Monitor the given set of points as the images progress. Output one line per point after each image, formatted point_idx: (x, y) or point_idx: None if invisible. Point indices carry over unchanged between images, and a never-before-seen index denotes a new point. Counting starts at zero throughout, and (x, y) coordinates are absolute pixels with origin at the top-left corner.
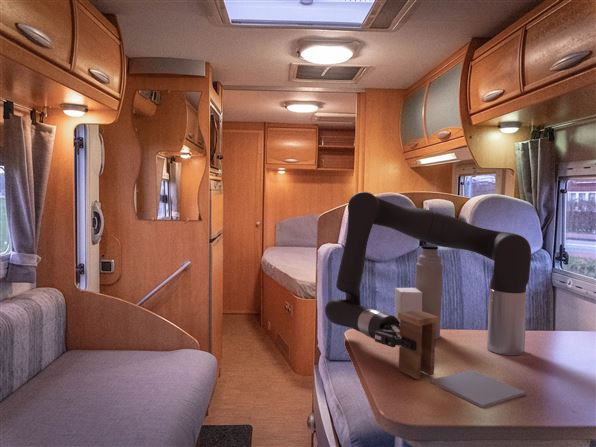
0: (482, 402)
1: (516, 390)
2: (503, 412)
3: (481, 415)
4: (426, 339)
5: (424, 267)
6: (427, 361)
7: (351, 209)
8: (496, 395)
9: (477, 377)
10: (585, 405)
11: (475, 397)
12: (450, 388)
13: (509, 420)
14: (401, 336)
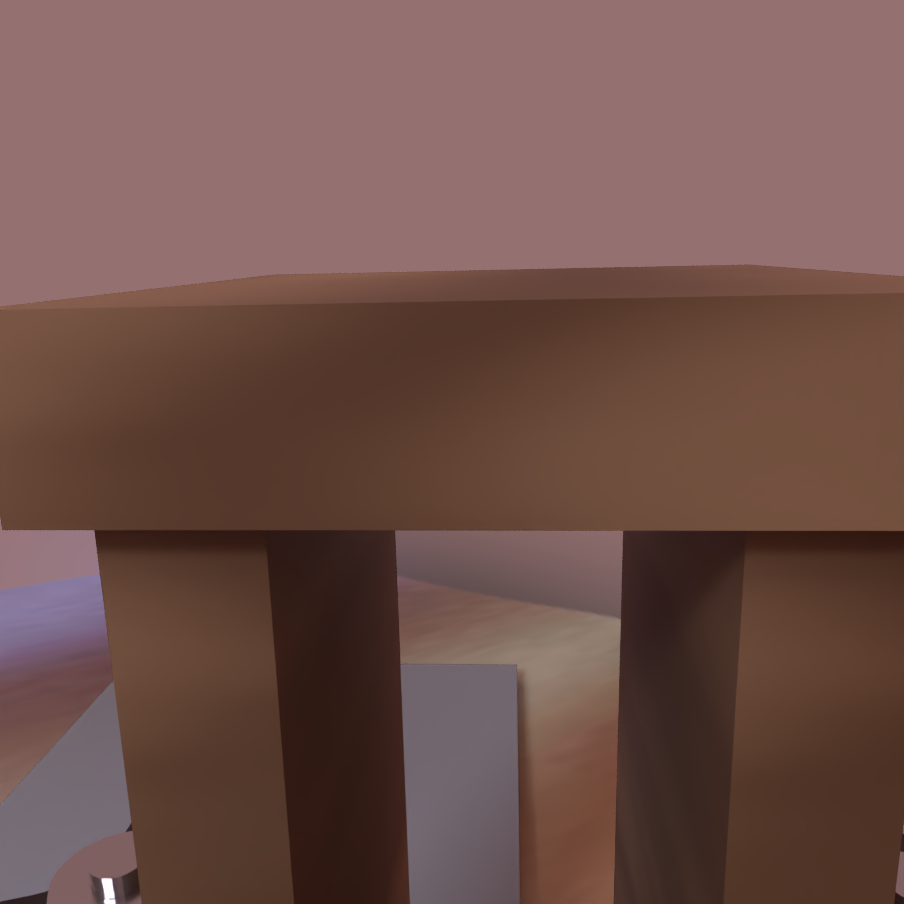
0: (489, 675)
1: None
2: (459, 640)
3: (593, 654)
4: (382, 737)
5: None
6: None
7: None
8: None
9: (65, 860)
10: (76, 583)
11: (466, 710)
12: (505, 827)
13: (507, 611)
14: (902, 874)
